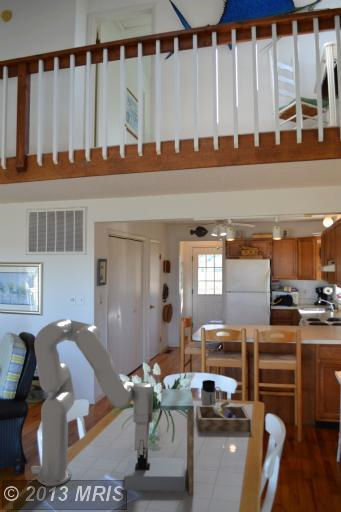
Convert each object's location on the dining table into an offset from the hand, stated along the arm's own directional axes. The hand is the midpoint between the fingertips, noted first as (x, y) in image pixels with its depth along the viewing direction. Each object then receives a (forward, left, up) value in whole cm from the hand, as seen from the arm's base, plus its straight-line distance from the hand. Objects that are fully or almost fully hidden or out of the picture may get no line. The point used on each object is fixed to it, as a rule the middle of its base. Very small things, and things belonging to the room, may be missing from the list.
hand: (142, 464), depth 149 cm
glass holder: (+35, +79, -6) cm, 87 cm away
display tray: (+38, +56, -6) cm, 68 cm away
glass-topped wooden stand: (+13, 0, -6) cm, 14 cm away
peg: (0, 0, -2) cm, 2 cm away
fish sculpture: (+41, +55, -6) cm, 69 cm away
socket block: (+5, 0, -6) cm, 8 cm away
